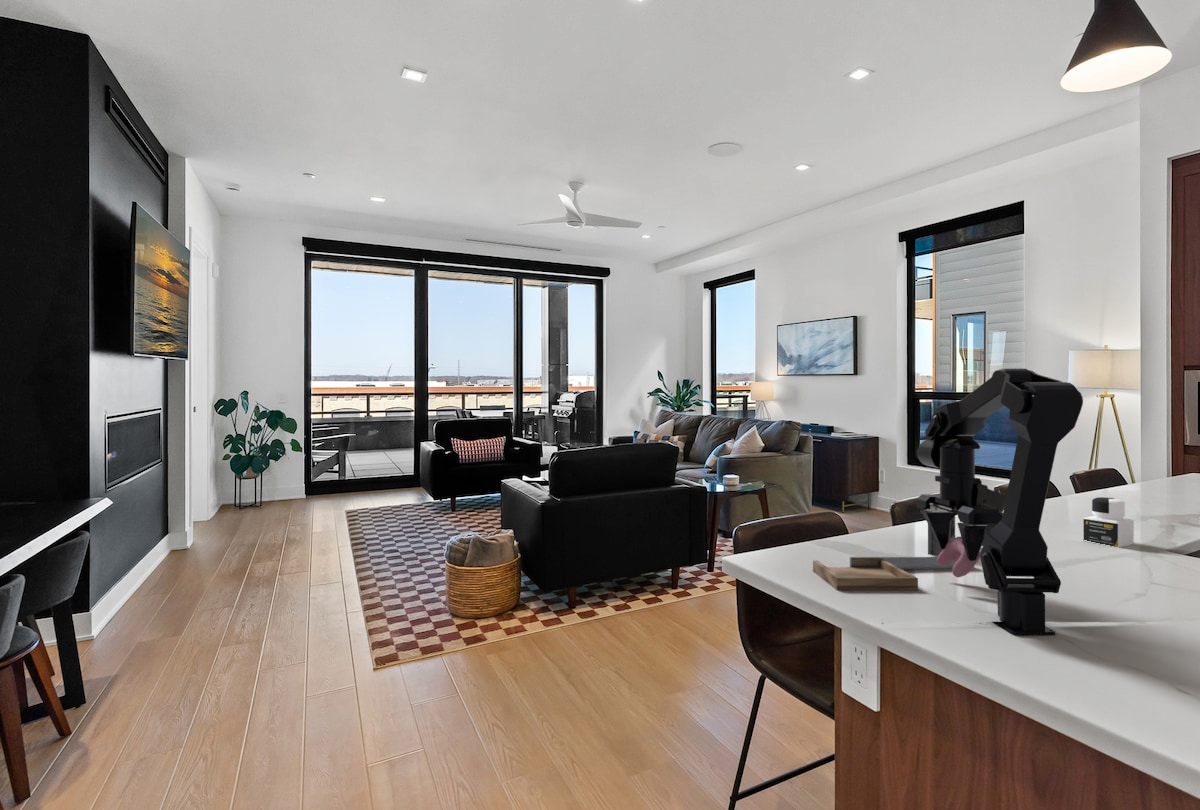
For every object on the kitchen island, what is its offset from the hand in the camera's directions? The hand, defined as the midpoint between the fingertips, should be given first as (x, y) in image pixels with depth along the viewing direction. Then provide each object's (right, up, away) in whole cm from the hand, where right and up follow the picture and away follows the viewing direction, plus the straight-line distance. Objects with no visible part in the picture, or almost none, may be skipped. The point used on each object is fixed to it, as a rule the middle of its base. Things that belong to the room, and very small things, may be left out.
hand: (957, 554), depth 116 cm
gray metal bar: (-3, -6, +12) cm, 14 cm away
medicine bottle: (+55, -6, +31) cm, 63 cm away
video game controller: (0, -4, 0) cm, 4 cm away
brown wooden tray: (-16, -6, +5) cm, 18 cm away
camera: (+12, -7, +27) cm, 30 cm away
